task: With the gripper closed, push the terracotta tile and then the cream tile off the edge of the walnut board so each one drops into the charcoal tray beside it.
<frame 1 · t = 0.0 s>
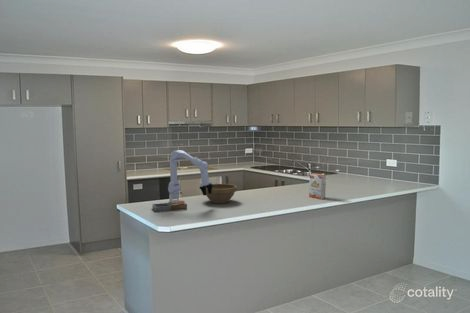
hand: (207, 194, 320), 11 cm above the worktop, tool pointing down, fingers open, 7 cm apart
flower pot: (219, 201, 345), on the worktop
terracotta tile: (181, 203, 318), point 4 cm above the worktop, touching walnut board
cream tile: (174, 202, 322), point 4 cm above the worktop, touching walnut board
walnut board: (177, 208, 320), on the worktop
cracker box: (317, 198, 361), on the worktop
charcoal tray: (161, 209, 315), on the worktop
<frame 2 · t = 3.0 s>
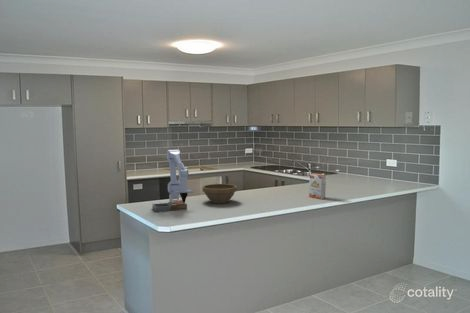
hand: (183, 202, 318), 5 cm above the worktop, tool pointing down, fingers closed
terracotta tile: (179, 203, 317), point 4 cm above the worktop, touching walnut board
everything else where it was.
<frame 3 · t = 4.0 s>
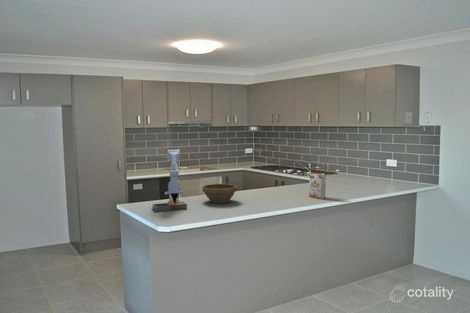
hand: (174, 203, 316), 5 cm above the worktop, tool pointing down, fingers closed, pressing on terracotta tile
terracotta tile: (171, 204, 315), point 4 cm above the worktop, touching gripper, walnut board
everything else where it was.
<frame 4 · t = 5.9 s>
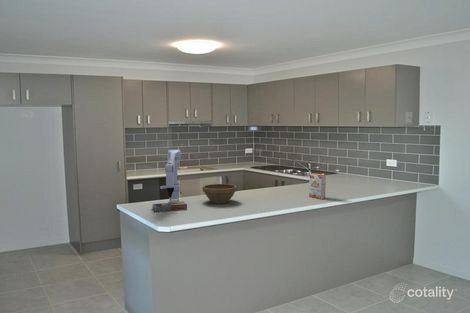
hand: (170, 197, 315), 9 cm above the worktop, tool pointing down, fingers closed
terracotta tile: (165, 206, 314), point 2 cm above the worktop, tilted 90°, touching charcoal tray
everything else where it was.
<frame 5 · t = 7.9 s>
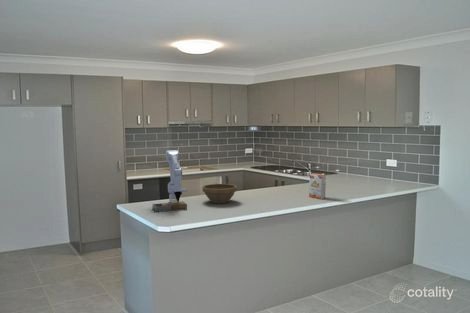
hand: (177, 201, 323), 5 cm above the worktop, tool pointing down, fingers closed
cream tile: (173, 202, 322), point 4 cm above the worktop, touching gripper, walnut board
everything else where it was.
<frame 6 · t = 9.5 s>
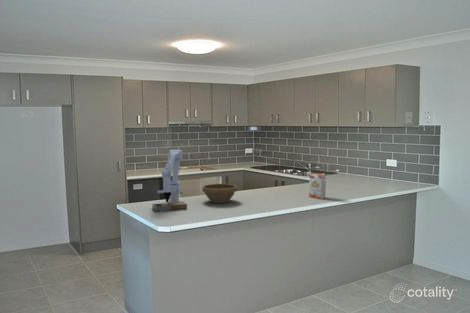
hand: (167, 202, 320), 5 cm above the worktop, tool pointing down, fingers closed
cream tile: (166, 205, 320), point 2 cm above the worktop, tilted 90°, touching charcoal tray
everything else where it was.
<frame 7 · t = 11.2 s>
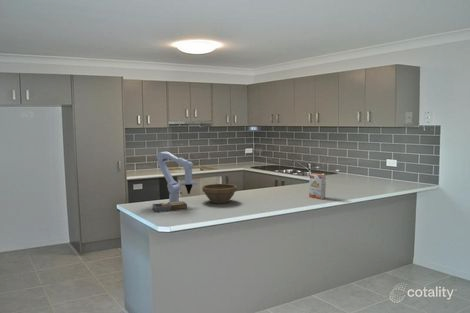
hand: (188, 193, 329), 9 cm above the worktop, tool pointing down, fingers closed
nothing on the worktop moved.
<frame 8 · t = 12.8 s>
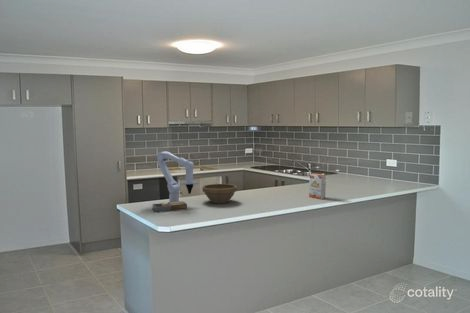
hand: (189, 193, 330), 9 cm above the worktop, tool pointing down, fingers closed
nothing on the worktop moved.
at the end: terracotta tile inside the target area on the charcoal tray (3.4 cm from its centre), point 2.5 cm above the charcoal tray's base; cream tile inside the target area on the charcoal tray (5.4 cm from its centre), point 2.5 cm above the charcoal tray's base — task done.
